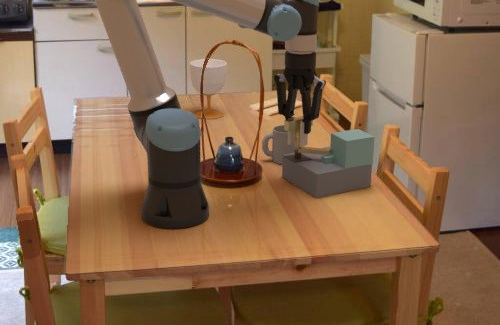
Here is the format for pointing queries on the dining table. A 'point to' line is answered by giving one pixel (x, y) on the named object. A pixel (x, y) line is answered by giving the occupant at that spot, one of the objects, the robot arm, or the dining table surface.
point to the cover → (350, 149)
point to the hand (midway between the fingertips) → (297, 144)
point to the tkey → (295, 125)
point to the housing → (323, 175)
